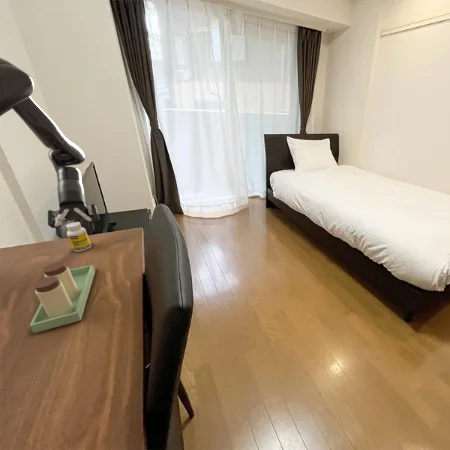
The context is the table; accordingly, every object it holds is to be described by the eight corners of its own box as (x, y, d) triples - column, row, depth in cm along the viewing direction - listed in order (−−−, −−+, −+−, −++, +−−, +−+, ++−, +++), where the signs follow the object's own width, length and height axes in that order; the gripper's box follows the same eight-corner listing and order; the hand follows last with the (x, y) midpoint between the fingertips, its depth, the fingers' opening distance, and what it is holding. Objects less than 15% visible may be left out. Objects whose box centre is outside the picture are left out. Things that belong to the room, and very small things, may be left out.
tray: (59, 279, 83) (56, 272, 82) (95, 271, 86) (92, 264, 85) (33, 333, 64) (29, 325, 63) (81, 320, 68) (77, 312, 67)
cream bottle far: (44, 321, 67) (26, 289, 63) (58, 306, 71) (42, 276, 67) (66, 319, 68) (50, 287, 63) (78, 305, 72) (64, 274, 68)
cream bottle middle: (52, 303, 73) (36, 272, 68) (64, 291, 77) (50, 261, 73) (72, 301, 73) (58, 271, 69) (83, 289, 78) (70, 260, 73)
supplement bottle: (73, 253, 96) (63, 229, 91) (73, 247, 99) (62, 223, 95) (92, 248, 99) (83, 224, 94) (91, 243, 102) (81, 219, 98)
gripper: (41, 192, 94) (45, 235, 89) (91, 186, 99) (96, 227, 95) (52, 201, 100) (56, 242, 96) (98, 195, 106) (103, 234, 102)
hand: (76, 234), depth 96 cm, fingers open, 8 cm apart
